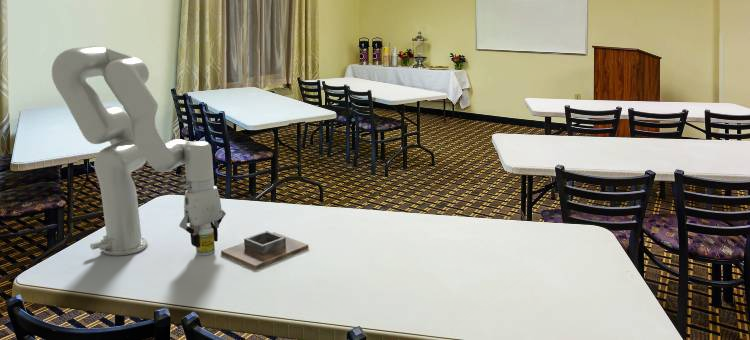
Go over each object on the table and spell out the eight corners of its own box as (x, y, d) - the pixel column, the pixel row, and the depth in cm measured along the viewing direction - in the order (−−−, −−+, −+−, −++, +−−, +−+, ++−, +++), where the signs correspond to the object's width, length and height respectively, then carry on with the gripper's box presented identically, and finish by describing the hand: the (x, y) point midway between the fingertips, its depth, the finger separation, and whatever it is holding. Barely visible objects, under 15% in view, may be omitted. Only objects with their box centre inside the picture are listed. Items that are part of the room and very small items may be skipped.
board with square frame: (255, 269, 164) (254, 255, 163) (221, 254, 174) (220, 241, 173) (308, 248, 179) (308, 235, 178) (274, 235, 189) (273, 223, 188)
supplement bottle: (209, 247, 180) (207, 217, 177) (218, 252, 176) (216, 221, 173) (192, 252, 176) (190, 221, 174) (201, 257, 172) (199, 226, 170)
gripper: (181, 193, 162) (186, 255, 167) (232, 180, 174) (236, 238, 179) (166, 188, 167) (172, 248, 171) (217, 176, 179) (221, 232, 184)
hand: (204, 242), depth 175 cm, fingers closed on supplement bottle, 5 cm apart
